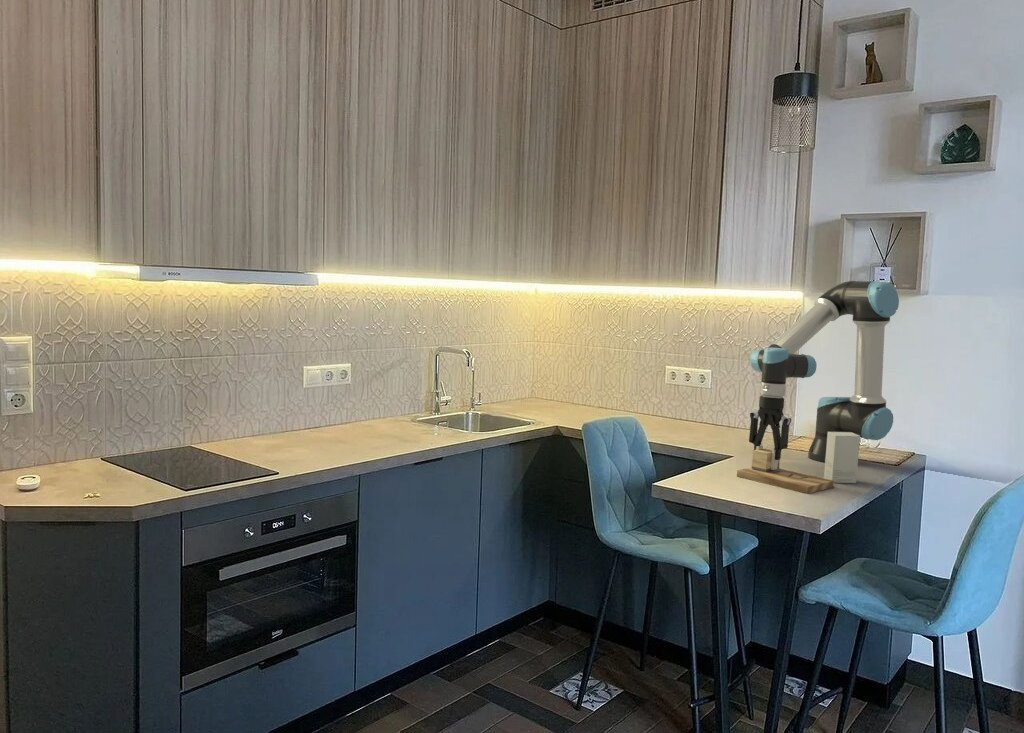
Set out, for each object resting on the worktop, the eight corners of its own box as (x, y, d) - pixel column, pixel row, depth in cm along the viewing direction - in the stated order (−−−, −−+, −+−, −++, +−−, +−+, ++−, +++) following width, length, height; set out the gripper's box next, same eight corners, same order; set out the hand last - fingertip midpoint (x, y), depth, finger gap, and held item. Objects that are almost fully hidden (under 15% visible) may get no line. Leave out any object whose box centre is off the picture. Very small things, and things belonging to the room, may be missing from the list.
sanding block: (765, 466, 258) (766, 448, 258) (779, 469, 255) (780, 451, 254) (751, 468, 253) (753, 450, 252) (765, 471, 249) (767, 453, 249)
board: (763, 470, 261) (764, 464, 261) (833, 487, 243) (834, 480, 243) (736, 476, 251) (737, 470, 250) (807, 493, 233) (807, 487, 232)
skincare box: (847, 479, 255) (852, 431, 254) (857, 484, 249) (862, 435, 247) (822, 478, 255) (826, 430, 254) (831, 483, 249) (835, 434, 247)
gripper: (740, 392, 256) (735, 463, 258) (792, 400, 242) (785, 474, 245) (753, 391, 261) (747, 460, 263) (804, 399, 247) (797, 472, 250)
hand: (765, 467), depth 254 cm, fingers closed on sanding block, 5 cm apart
